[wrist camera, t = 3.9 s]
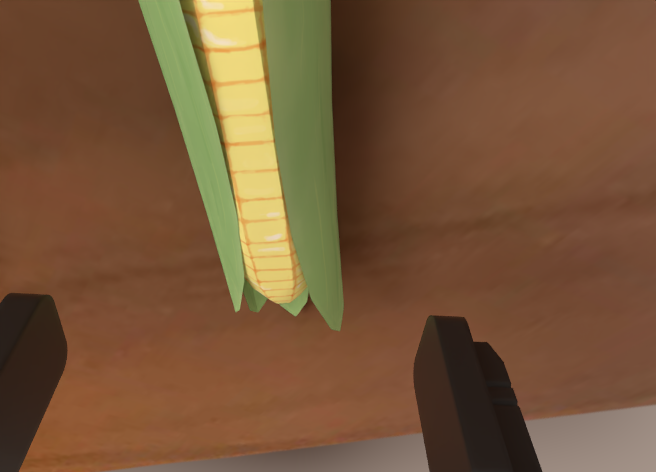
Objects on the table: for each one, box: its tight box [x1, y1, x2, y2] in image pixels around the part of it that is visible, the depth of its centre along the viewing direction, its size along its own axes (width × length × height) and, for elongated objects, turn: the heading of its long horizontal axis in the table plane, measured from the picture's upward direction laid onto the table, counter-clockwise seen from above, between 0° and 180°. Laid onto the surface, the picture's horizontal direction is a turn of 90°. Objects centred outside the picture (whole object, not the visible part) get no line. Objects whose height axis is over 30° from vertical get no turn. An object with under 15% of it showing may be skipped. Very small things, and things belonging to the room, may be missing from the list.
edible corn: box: [139, 0, 344, 331], centre depth 17 cm, size 5×20×5 cm, turn 4°
